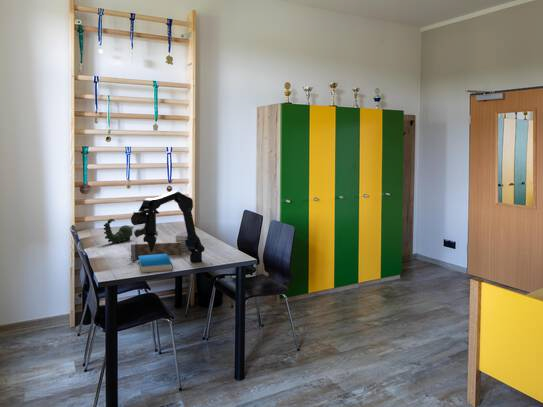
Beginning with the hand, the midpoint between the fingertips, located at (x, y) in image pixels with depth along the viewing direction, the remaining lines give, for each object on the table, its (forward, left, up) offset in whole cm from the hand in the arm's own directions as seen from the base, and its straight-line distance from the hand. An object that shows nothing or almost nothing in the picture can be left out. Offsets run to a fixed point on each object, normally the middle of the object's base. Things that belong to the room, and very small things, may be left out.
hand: (151, 251), depth 244 cm
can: (-17, -51, -12) cm, 55 cm away
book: (-1, -18, -13) cm, 22 cm away
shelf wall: (0, -42, -12) cm, 43 cm away
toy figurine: (+28, -90, -12) cm, 95 cm away
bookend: (+12, -35, -12) cm, 39 cm away
